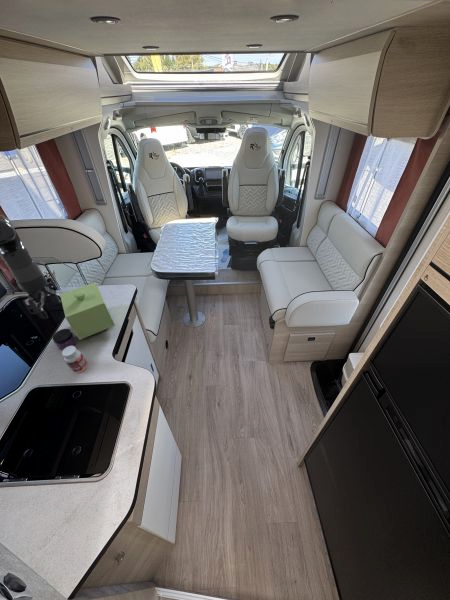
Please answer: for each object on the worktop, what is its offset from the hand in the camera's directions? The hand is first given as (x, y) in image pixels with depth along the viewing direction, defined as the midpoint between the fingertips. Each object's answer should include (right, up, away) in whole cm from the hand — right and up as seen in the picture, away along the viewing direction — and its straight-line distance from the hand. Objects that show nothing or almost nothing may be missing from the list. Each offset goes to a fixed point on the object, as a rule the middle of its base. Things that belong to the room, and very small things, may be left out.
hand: (51, 309), depth 95 cm
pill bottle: (+3, -25, +13) cm, 29 cm away
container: (0, -8, +32) cm, 33 cm away
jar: (-8, -17, +23) cm, 30 cm away
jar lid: (-8, -12, +19) cm, 25 cm away
